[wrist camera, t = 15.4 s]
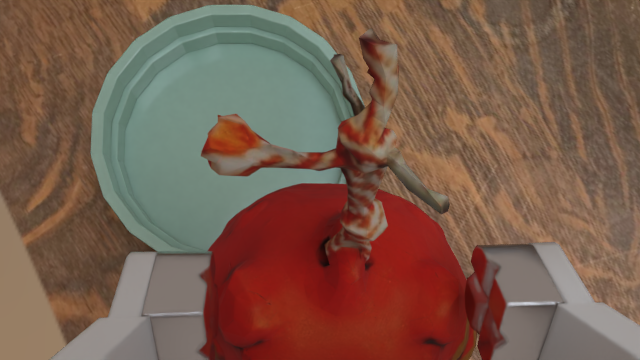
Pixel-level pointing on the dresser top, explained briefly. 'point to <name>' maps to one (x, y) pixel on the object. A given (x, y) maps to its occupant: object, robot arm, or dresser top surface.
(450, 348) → the red daruma ornament
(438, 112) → the dresser top surface
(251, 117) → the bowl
